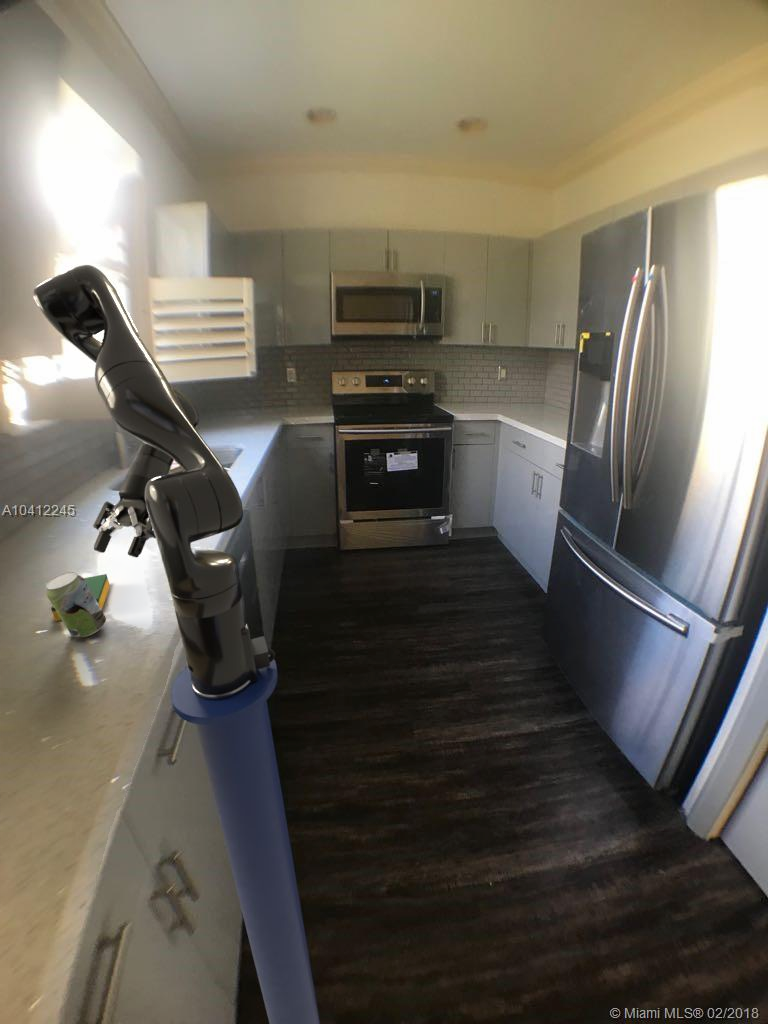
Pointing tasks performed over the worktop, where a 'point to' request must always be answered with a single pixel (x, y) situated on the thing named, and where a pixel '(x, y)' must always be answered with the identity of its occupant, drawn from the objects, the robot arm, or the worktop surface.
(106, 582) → the sponge
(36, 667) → the worktop surface
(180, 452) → the robot arm
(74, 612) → the beverage can
